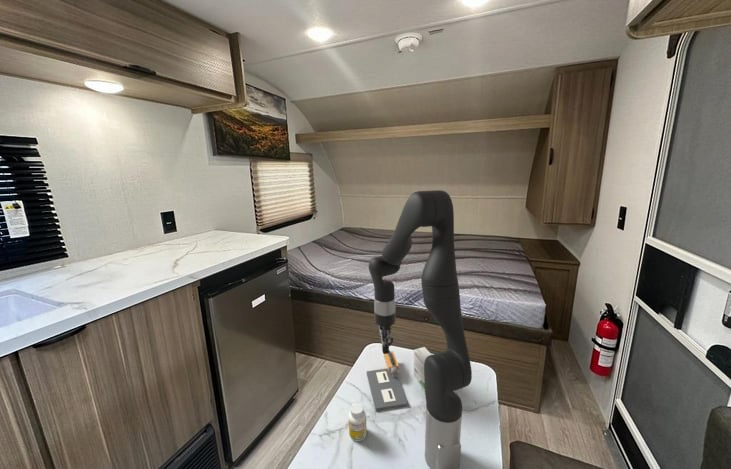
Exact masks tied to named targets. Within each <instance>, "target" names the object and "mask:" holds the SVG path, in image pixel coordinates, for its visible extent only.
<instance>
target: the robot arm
mask: <svg viewBox="0 0 731 469" xmlns="http://www.w3.org/2000/svg"><path fill="white" fill-rule="evenodd" d="M454 215H455V214H454V204H453V201H452V198H451V196H450V194H449V193H448V192H447V191H445V190H442V189H441V190H439V189H438V190H435V189H434V190H421V191H414V192H413V193H411V194H410V195H409V196H408V198H407V200H406V201H405V203H404V206H403V209H402V210H401V213H400V216H399V218H398V221H397V224H396V226H395V229H394V231H393V233H392V235H391V237H390V239H389V240H388V242H386V244H385V245H384V247H383V249H382V251H381V255H378V256H375V257H372V258H371V259H370V260H369V262H368V270H369V273H370V277H371V280H372V284H373V289H374V302H373V304H374V305H373V306H374V308H373V309H374V324H376V325H377V326H378V329H379V330H378V331H379V338H380V342H381V349H382V350H381V351H382V353H383V355H384V354H388V353H389V351H390V347H391V346H392V344H393V342H394V339H393V337H392V332H393V331H392V329H393V328H392V326H393V325H395V323H396V318H397V317H396V299H395V297H396V296H395V295H396V294H395V284H394V282H393V281H391V280H388V279H383V277H389V276H392V275H395V274H396V273H398V272H399V271H400V270H401V265H402V264H403V263H402V262H403V260H404V259H405V257H406V256H407V255H408V254H409V253H410V251H411V248H412V246H413V239H412V234H413V233H414V232H415V231H416V230H417V229H420V228H427V227H429V228H430V227H431V236H432V242H431V243H432V244H431V249H430V252H429V255H428V258H427V259H426V262H425V263H424V268H423V270H422V272H421V277H420V278H421V288H422V289H421V291H422V298H423V303H424V305H425V306H424V307H426V309H427V311H428V312H429V313H430V315H431V316H432V317H433V319H434V320H435V322H437V324H438V325H439V326H440V328H441V330H442V331H443V333H444V336H445V339H446V346H447V347H446V349H447V350H445V351H441V352H436V353H433V354H432V353H431V354H432V355H429V356H428V357H427V358H426V359H425V363H424V380H425V389H424V395H425V404H426V405H425V428H424V429H425V431H424V432H425V435H424V438H425V439H424V458H425V462H426V464H427V466H428V467H429V468H430V469H460V467H461V466H460V465H461V453H462V444H461V436H462V435H461V434H462V432H461V431H462V418H463V417H462V415H463V402H462V399H461V398H460V396H459V395H458V393H457V392H455V391H458V390H461V389H464V388H466V387H468V386H469V385H470V384H471V382H472V379H473V378H472V377H473V376H472V375H473V374H472V373H473V371H472V365H471V358H470V354H469V350H468V345H467V340H466V336H465V329H464V323H463V315H462V314H463V313H462V306H461V295H460V294H461V293H460V286H459V285H460V284H459V278H458V272H457V263H456V250H455V216H454Z"/></svg>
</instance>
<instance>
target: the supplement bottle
mask: <svg viewBox="0 0 731 469" xmlns="http://www.w3.org/2000/svg"><path fill="white" fill-rule="evenodd" d="M347 417H348V418H347V419H348V430H349V432H348V434H349V438H350V439H351V440H353V441H354V442H362V441H363V440H365V439H366V437H367V430H368V428H367V413H366V411H365V410H364V405H363V404H362V403H360V402H355V403H352V405H350V411H349V413H348V416H347Z"/></svg>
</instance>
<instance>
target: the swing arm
mask: <svg viewBox="0 0 731 469" xmlns="http://www.w3.org/2000/svg"><path fill="white" fill-rule="evenodd" d="M383 359H384V361H385V364H386V368H388V371H391V374H392V375H397V376H398V375H399V374H398V373H399V370H400V369H399V368H400V366H399V363H398V360H397V357H396V355H395V353H394V351H392V350H389V353H388V354H383Z"/></svg>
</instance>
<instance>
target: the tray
mask: <svg viewBox="0 0 731 469" xmlns="http://www.w3.org/2000/svg"><path fill="white" fill-rule="evenodd" d="M366 376H367V377H366V378H367V381H368V385H369V389H370V393H371V397H372V398H371V399H372V402H373V407H374V410H375V412H380V411H386V410H391V409H392V410H393V409H399V408H405V407H408V402H407V399H406V396H405V395H404V391H403V389H402V387H401V383H400V381H399V378H398V374H397V375H392V374H391V371H388V368H387V367H386V368H378V369H373V370H367V371H366Z"/></svg>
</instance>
